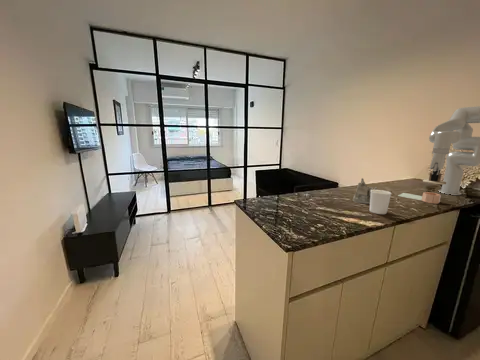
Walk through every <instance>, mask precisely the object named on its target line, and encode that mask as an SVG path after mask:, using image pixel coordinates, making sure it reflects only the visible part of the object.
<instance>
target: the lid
mask: <svg viewBox="0 0 480 360" xmlns="http://www.w3.org/2000/svg"><path fill="white" fill-rule="evenodd" d="M431 175H432V172H430V173H429V177H428V178H425V179H422V182H423V183H426V184H431V185H441V186H442V185H443V184H446V182H445V181H443V180H441V179H442V173H441V172H440V173H438V175H439V176H438V181H432V180H431Z"/></svg>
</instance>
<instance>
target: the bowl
mask: <svg viewBox="0 0 480 360" xmlns="http://www.w3.org/2000/svg"><path fill="white" fill-rule="evenodd" d="M421 196H422V200H421V201H422V202H424V203H426V204H428V203H429V204H435V205H436V204H440V202H441V198H442V194H440V193H437V192H430V191H429V192H428V191H427V192H426V191H424V192H422V195H421Z"/></svg>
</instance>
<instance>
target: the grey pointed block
mask: <svg viewBox="0 0 480 360" xmlns="http://www.w3.org/2000/svg"><path fill="white" fill-rule="evenodd" d="M371 190H378V187H377V186H374V187H373V186H368V185H367V184H366V182H365V180H364V178H363V177H362V178H361V180H360V182H358V184H357V187H356V191H355V194H354V195H353V198H352V201H353V202H355V203H358V204H366V205H367V204H369V205H370V194H371Z"/></svg>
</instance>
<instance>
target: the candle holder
mask: <svg viewBox="0 0 480 360" xmlns="http://www.w3.org/2000/svg"><path fill="white" fill-rule="evenodd" d="M391 196H392V192H391V191H388V190H385V189H384V190H383V189H377V190H371V194H370V204H369V210H368V211H369V212H370V213H373V214H376V215H386V214H387V213H388V209H389V204H390V200H391Z"/></svg>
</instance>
